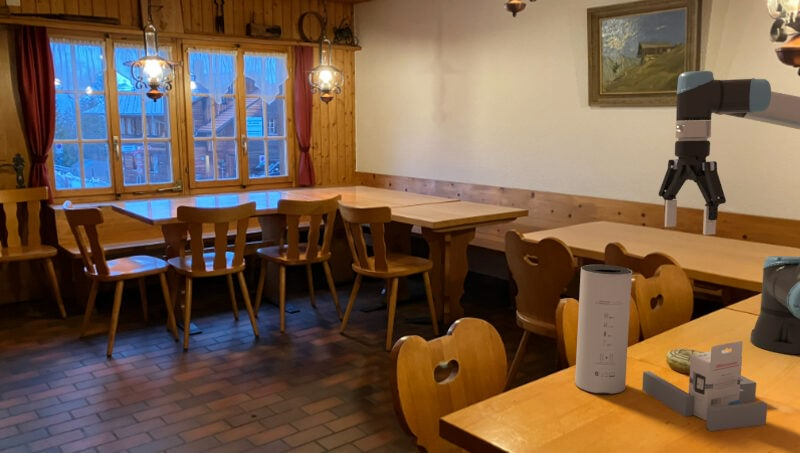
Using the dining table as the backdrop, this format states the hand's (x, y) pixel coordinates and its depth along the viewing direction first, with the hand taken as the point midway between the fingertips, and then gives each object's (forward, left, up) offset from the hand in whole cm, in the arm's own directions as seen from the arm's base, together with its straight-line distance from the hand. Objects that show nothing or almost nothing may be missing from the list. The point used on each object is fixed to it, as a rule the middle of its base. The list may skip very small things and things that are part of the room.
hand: (688, 230), depth 162 cm
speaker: (+29, +13, -31) cm, 45 cm away
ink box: (+15, +31, -31) cm, 46 cm away
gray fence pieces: (+13, +27, -31) cm, 43 cm away
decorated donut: (+3, +8, -31) cm, 32 cm away
